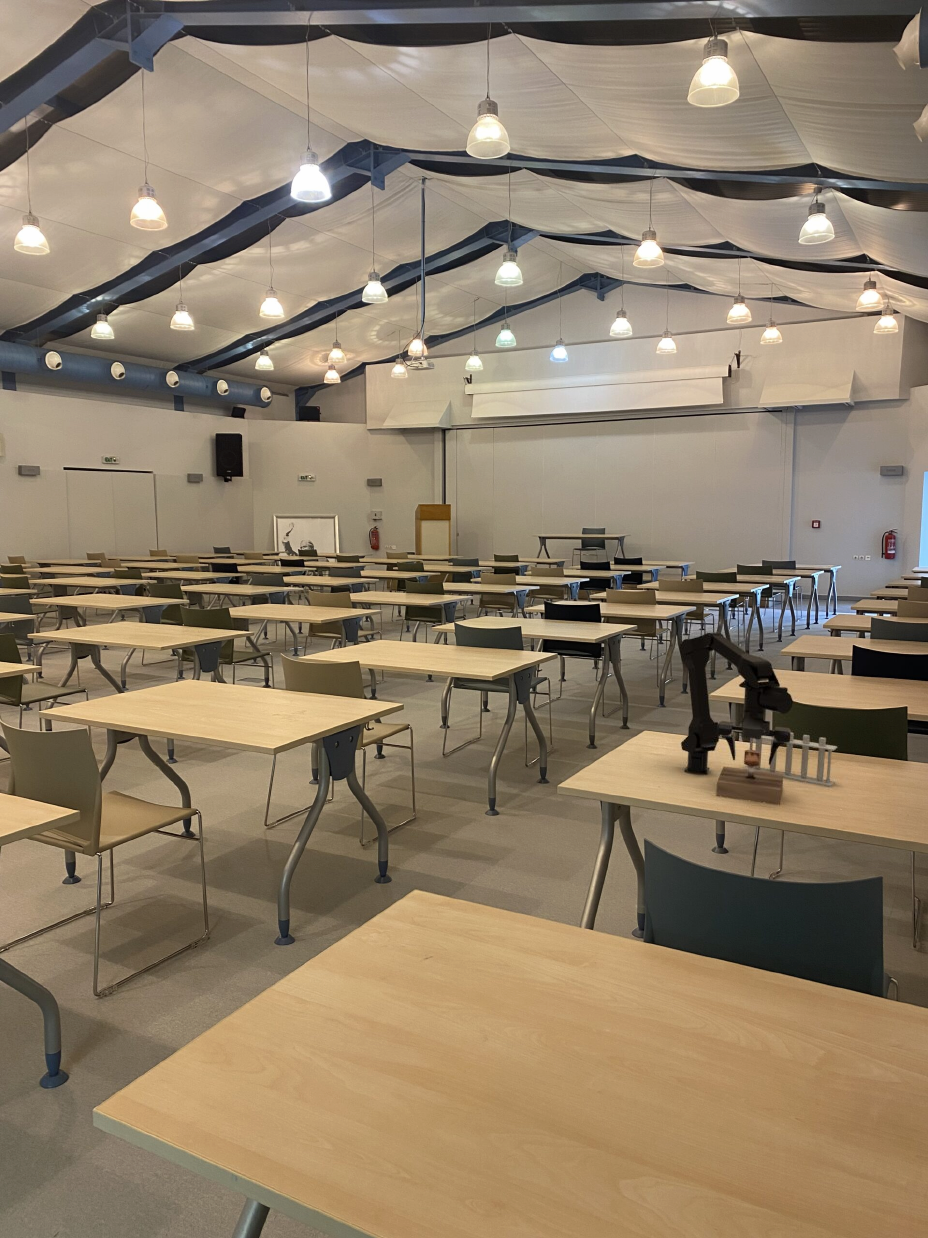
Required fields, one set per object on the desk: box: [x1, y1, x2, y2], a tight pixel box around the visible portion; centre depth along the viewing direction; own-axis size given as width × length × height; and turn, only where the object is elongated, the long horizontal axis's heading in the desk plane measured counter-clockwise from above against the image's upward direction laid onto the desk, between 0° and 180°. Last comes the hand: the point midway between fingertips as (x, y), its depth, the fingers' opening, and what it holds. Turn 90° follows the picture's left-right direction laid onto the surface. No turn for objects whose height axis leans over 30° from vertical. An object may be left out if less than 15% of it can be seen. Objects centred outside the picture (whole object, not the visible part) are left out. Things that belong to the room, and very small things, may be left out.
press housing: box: [716, 766, 784, 806], centre depth 227 cm, size 16×16×4 cm
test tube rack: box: [742, 732, 838, 788], centre depth 242 cm, size 25×4×13 cm, turn 53°
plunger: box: [743, 749, 760, 779], centre depth 227 cm, size 4×4×8 cm
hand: (751, 762), depth 227 cm, fingers open, 9 cm apart
